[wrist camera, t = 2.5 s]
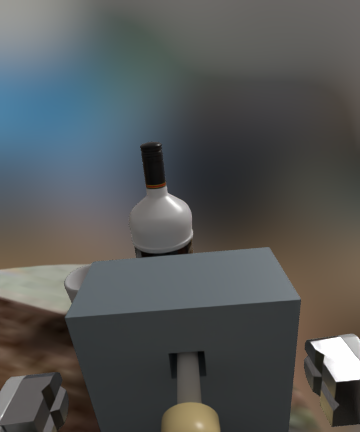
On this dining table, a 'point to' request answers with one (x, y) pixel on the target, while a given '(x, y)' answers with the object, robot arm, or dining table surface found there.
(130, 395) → the console
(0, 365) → the dining table surface
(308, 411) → the dining table surface
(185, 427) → the knob upper
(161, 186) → the vodka
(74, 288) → the cup
